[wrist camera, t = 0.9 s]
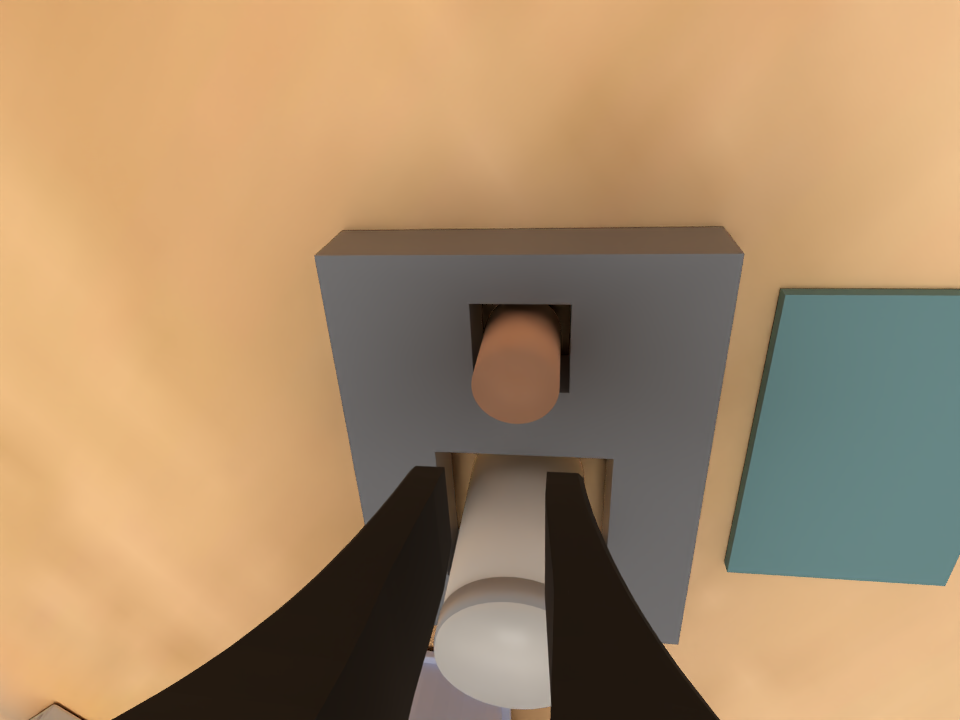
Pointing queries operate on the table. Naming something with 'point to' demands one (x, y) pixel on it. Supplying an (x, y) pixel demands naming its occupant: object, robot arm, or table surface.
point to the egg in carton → (518, 363)
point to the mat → (855, 440)
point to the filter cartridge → (500, 585)
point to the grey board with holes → (583, 373)
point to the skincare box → (55, 714)
